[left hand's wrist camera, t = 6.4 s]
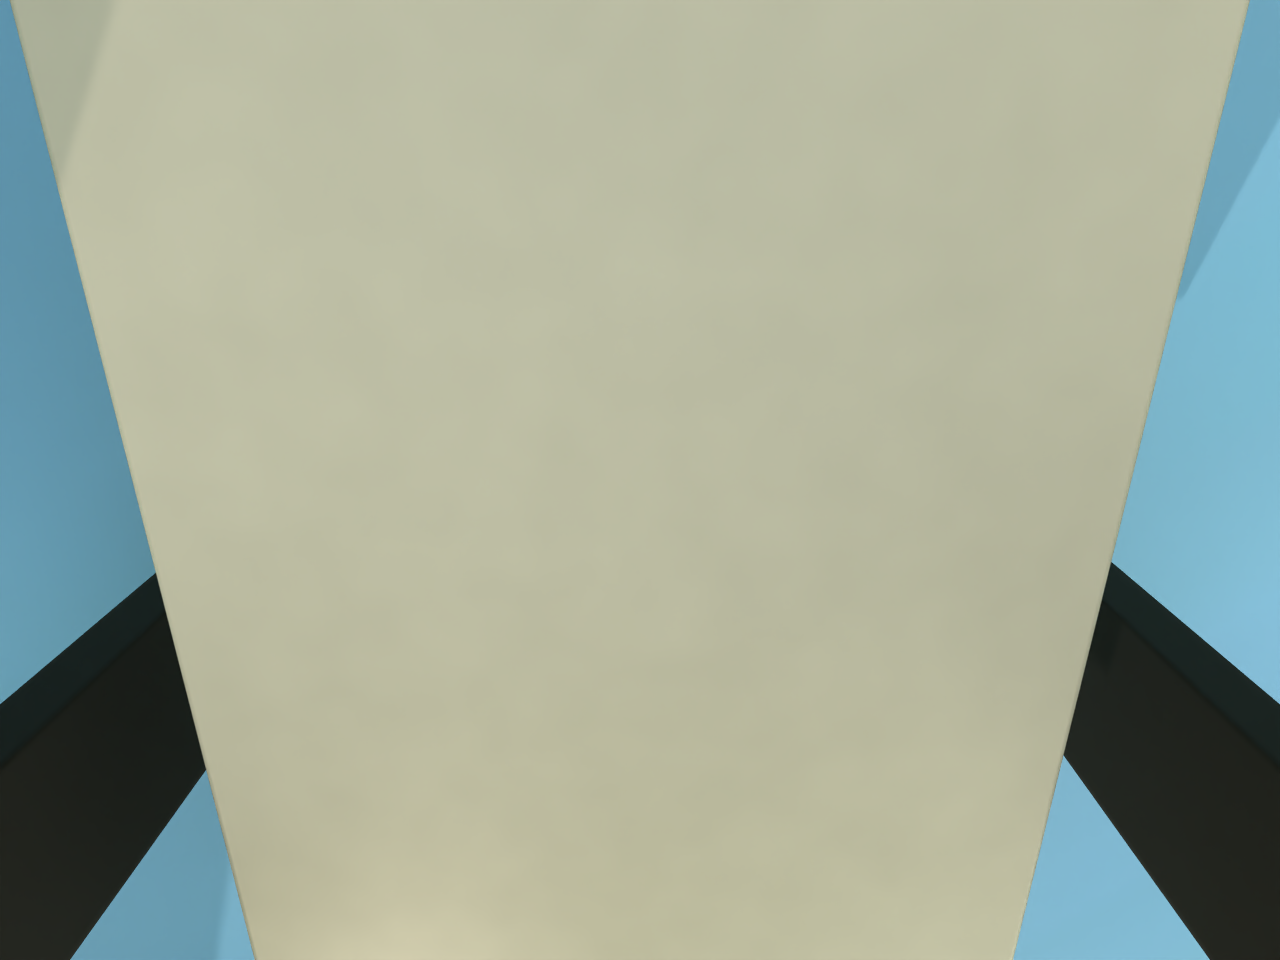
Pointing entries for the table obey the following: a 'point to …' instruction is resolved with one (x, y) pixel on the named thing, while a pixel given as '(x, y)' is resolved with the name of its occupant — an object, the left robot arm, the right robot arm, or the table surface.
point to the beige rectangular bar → (631, 441)
